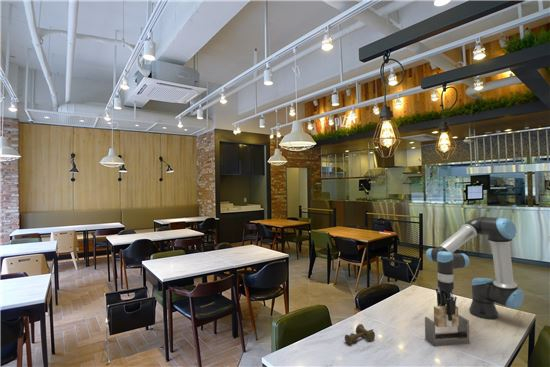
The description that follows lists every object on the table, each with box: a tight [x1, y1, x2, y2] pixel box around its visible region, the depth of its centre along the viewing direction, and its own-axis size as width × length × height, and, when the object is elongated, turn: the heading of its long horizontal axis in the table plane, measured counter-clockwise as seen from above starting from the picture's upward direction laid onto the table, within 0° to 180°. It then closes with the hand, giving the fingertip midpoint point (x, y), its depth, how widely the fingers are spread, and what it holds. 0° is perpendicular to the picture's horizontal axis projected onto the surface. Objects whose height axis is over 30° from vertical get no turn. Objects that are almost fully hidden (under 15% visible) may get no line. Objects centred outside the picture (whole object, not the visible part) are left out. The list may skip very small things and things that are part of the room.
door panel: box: [433, 305, 459, 328], centre depth 156 cm, size 12×3×10 cm, turn 96°
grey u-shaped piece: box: [424, 314, 470, 347], centre depth 156 cm, size 20×7×12 cm, turn 96°
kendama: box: [344, 323, 376, 346], centre depth 159 cm, size 6×10×20 cm
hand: (446, 324), depth 156 cm, fingers closed on door panel, 3 cm apart
